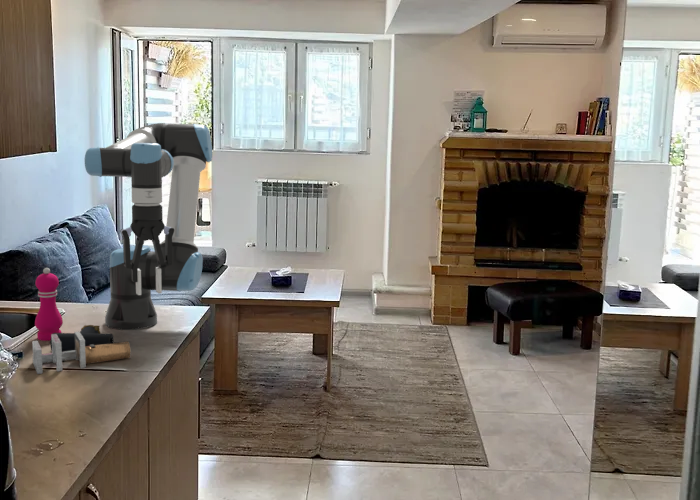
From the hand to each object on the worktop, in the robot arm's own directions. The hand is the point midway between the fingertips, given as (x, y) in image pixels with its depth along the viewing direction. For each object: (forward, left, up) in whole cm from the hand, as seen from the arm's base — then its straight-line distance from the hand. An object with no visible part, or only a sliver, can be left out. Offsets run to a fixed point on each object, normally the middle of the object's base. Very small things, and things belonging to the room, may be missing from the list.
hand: (148, 292), depth 193 cm
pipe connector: (+14, -13, -17) cm, 26 cm away
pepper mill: (+21, -26, -17) cm, 38 cm away
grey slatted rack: (+22, 0, -17) cm, 28 cm away
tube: (+11, 0, -17) cm, 20 cm away
